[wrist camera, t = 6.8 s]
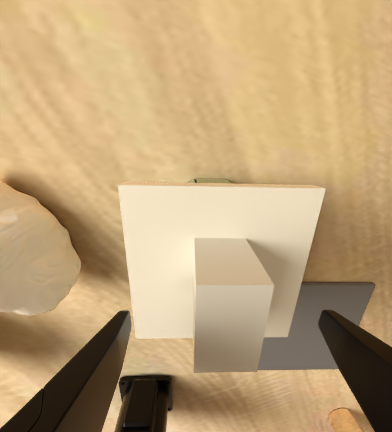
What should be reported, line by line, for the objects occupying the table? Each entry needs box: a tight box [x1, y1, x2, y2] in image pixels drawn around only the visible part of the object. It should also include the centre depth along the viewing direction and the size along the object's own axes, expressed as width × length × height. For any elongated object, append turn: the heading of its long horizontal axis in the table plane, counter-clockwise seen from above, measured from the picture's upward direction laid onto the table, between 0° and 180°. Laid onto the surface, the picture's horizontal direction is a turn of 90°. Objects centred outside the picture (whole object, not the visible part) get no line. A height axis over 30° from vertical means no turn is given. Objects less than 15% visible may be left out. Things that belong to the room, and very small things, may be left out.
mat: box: [257, 282, 375, 370], centre depth 22 cm, size 13×13×1 cm
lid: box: [118, 182, 326, 373], centre depth 10 cm, size 11×11×5 cm
